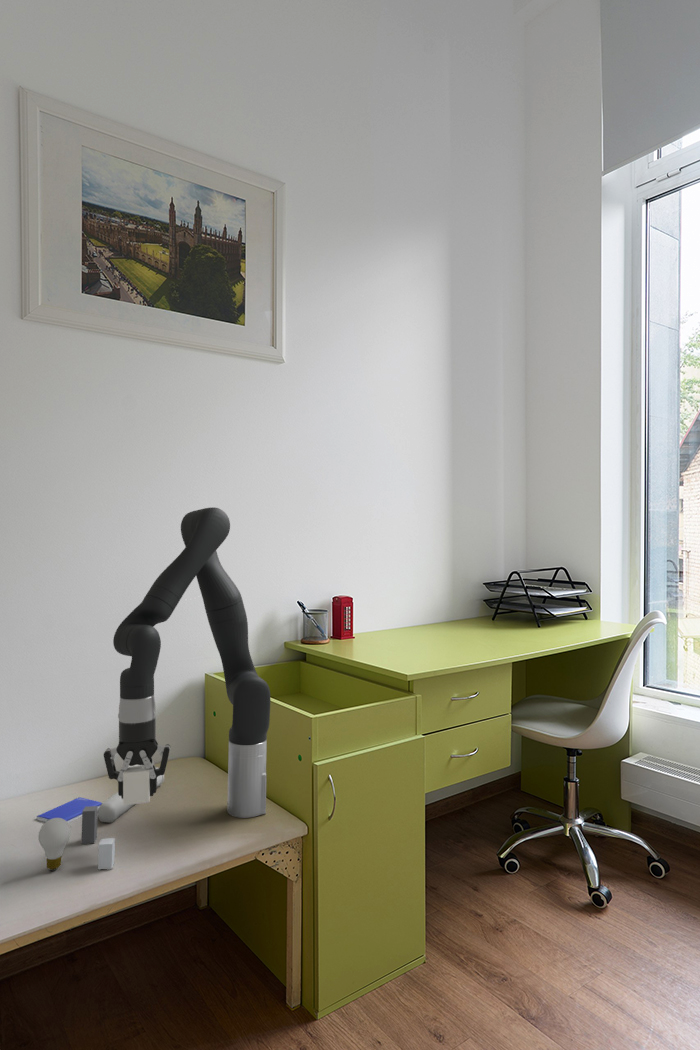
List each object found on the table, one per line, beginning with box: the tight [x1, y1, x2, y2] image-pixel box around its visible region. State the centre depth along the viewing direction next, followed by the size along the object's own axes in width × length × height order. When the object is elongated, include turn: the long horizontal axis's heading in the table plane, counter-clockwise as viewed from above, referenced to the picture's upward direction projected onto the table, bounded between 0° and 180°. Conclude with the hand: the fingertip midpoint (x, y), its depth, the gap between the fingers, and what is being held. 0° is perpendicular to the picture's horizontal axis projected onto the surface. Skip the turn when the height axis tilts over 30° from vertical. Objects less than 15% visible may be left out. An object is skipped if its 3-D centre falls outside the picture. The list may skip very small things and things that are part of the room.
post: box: [81, 806, 98, 845], centre depth 142 cm, size 3×3×7 cm
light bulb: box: [37, 818, 72, 871], centre depth 129 cm, size 6×6×10 cm
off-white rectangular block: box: [123, 765, 152, 805], centre depth 139 cm, size 5×5×7 cm
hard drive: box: [36, 796, 103, 824], centre depth 156 cm, size 2×8×12 cm
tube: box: [97, 767, 165, 823], centre depth 162 cm, size 5×5×25 cm
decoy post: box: [97, 837, 116, 870], centre depth 131 cm, size 3×3×5 cm
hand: (137, 795), depth 139 cm, fingers closed on off-white rectangular block, 5 cm apart
